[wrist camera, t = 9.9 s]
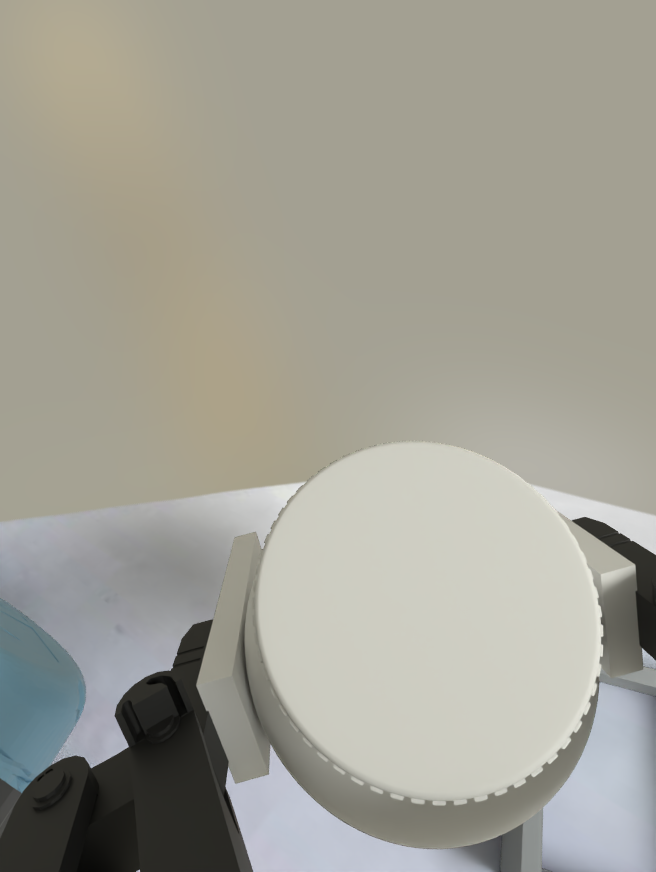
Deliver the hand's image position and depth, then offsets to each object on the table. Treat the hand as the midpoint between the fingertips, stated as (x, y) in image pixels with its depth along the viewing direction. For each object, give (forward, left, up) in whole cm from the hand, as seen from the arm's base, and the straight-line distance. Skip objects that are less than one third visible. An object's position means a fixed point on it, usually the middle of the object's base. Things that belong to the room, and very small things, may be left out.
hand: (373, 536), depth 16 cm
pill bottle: (+2, -3, -7) cm, 8 cm away
